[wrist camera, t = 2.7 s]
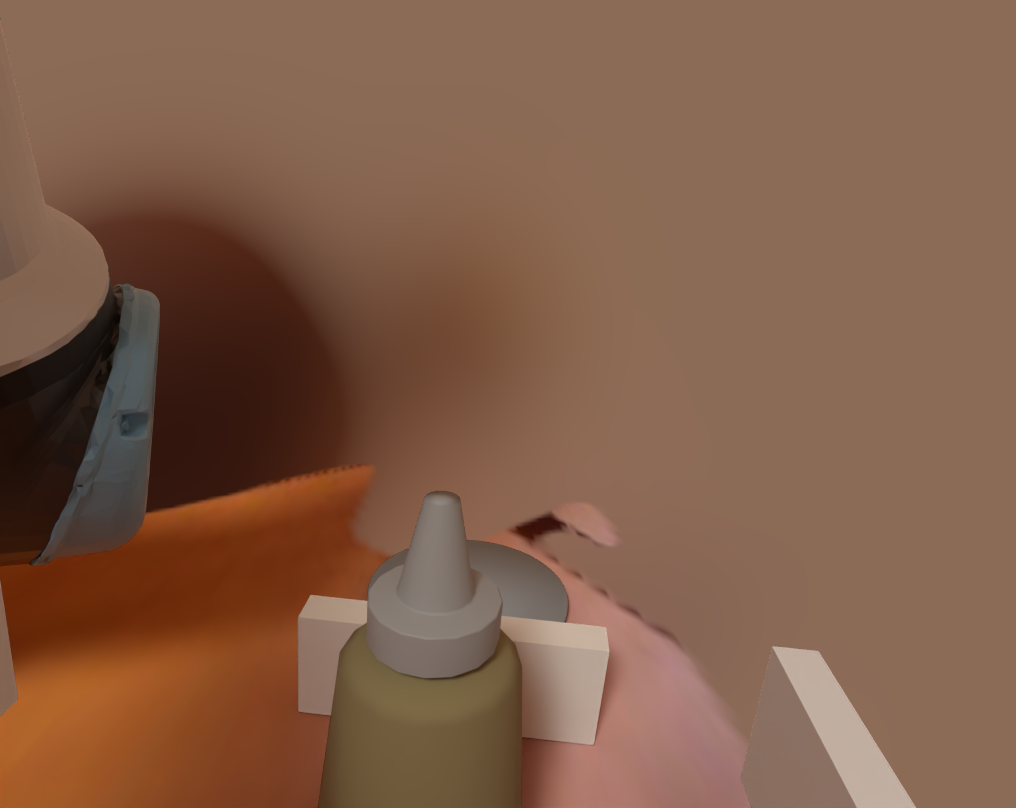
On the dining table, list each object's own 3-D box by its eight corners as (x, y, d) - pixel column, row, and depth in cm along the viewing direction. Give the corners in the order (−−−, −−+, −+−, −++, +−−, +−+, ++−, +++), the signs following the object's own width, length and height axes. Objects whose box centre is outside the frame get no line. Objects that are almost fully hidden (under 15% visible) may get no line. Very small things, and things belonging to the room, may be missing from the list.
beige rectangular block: (298, 711, 36) (298, 617, 34) (310, 685, 38) (310, 594, 36) (593, 745, 36) (609, 651, 34) (591, 717, 38) (605, 627, 36)
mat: (335, 575, 48) (336, 565, 48) (494, 534, 56) (495, 525, 56) (429, 698, 38) (429, 686, 38) (608, 625, 46) (610, 615, 46)
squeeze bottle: (474, 791, 32) (509, 445, 27) (545, 967, 25) (612, 546, 20) (300, 838, 29) (300, 458, 24) (326, 1053, 22) (334, 583, 17)
